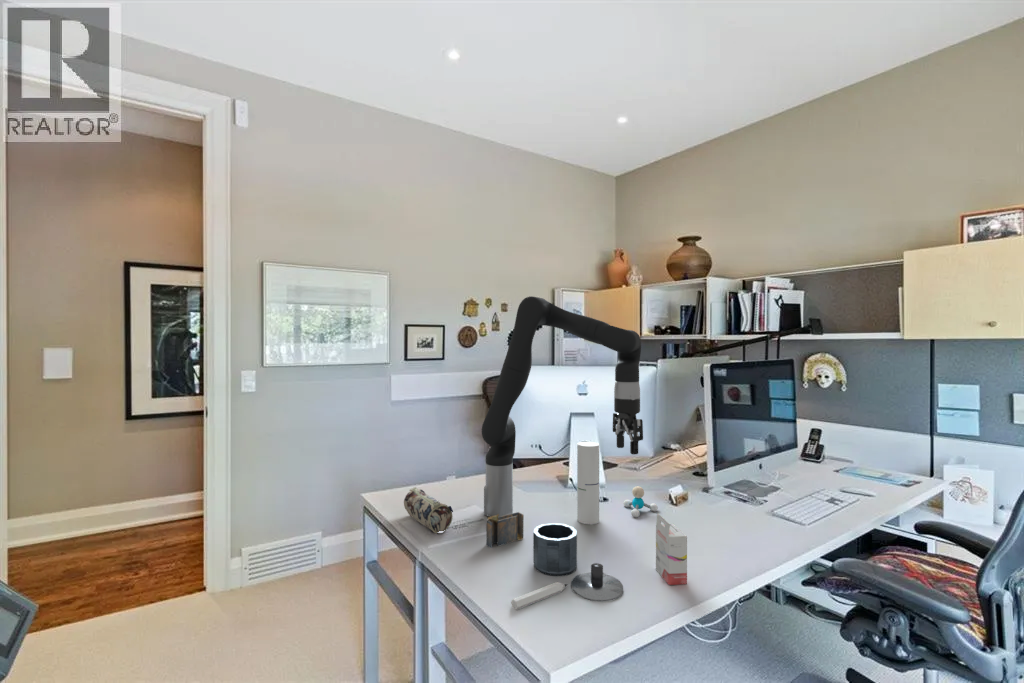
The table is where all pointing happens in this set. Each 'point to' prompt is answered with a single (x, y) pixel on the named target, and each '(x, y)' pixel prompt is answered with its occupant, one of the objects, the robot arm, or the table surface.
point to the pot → (555, 549)
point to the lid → (597, 585)
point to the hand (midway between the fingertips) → (627, 450)
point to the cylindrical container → (588, 482)
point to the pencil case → (428, 510)
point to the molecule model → (638, 502)
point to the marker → (537, 595)
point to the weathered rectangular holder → (504, 529)
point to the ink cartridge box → (671, 552)
